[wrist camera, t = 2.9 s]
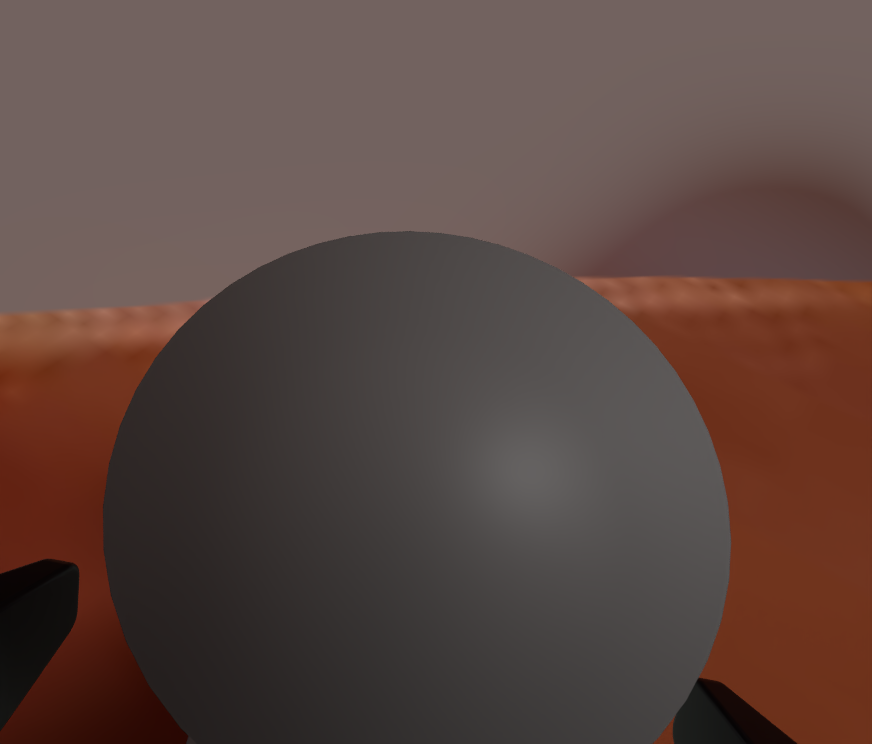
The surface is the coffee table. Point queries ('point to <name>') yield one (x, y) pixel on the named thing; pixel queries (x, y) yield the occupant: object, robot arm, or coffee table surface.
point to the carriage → (415, 507)
